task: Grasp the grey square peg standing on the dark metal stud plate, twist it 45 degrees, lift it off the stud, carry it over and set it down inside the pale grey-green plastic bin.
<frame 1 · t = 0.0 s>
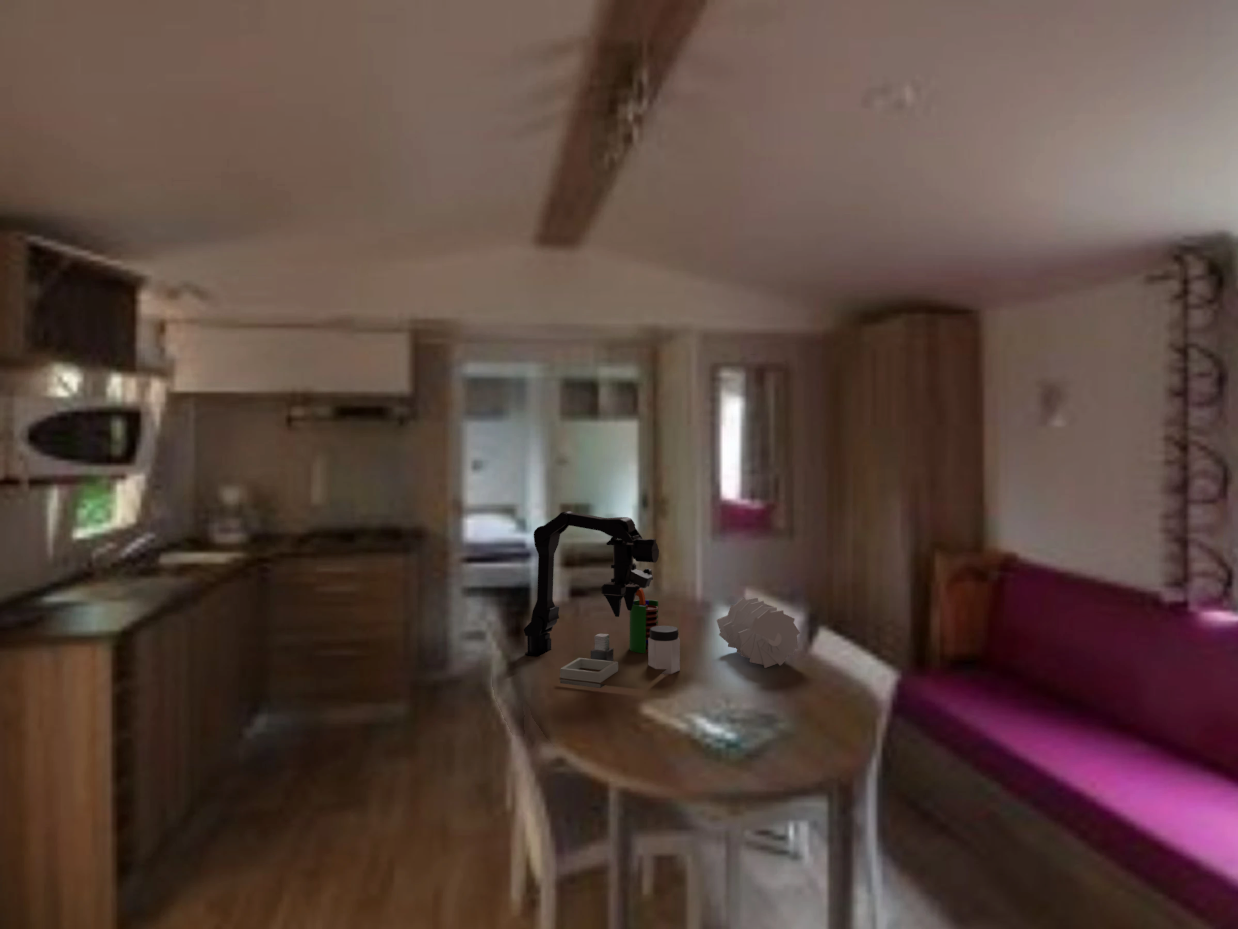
hand: (623, 613, 254), 15 cm above the table, fingers open, 9 cm apart
jar: (664, 671, 247), on the table
bin: (589, 679, 238), on the table
grey square peg: (602, 661, 251), point 1 cm above the table, touching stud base
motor: (643, 654, 265), on the table
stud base: (602, 666, 251), on the table
spiral staircase: (757, 660, 258), on the table
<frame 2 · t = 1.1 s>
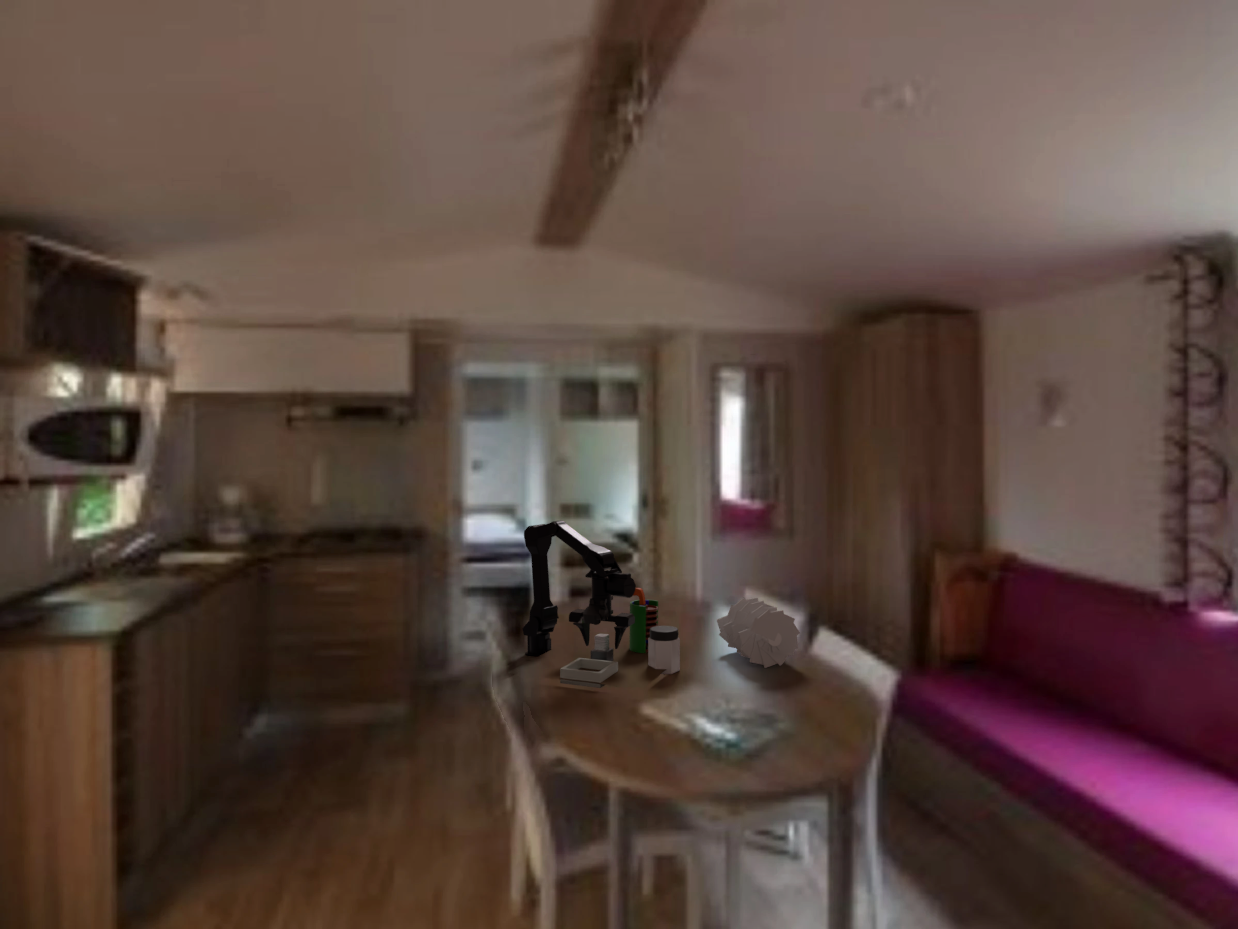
hand: (601, 647, 251), 6 cm above the table, fingers open, 9 cm apart
nothing on the table moved.
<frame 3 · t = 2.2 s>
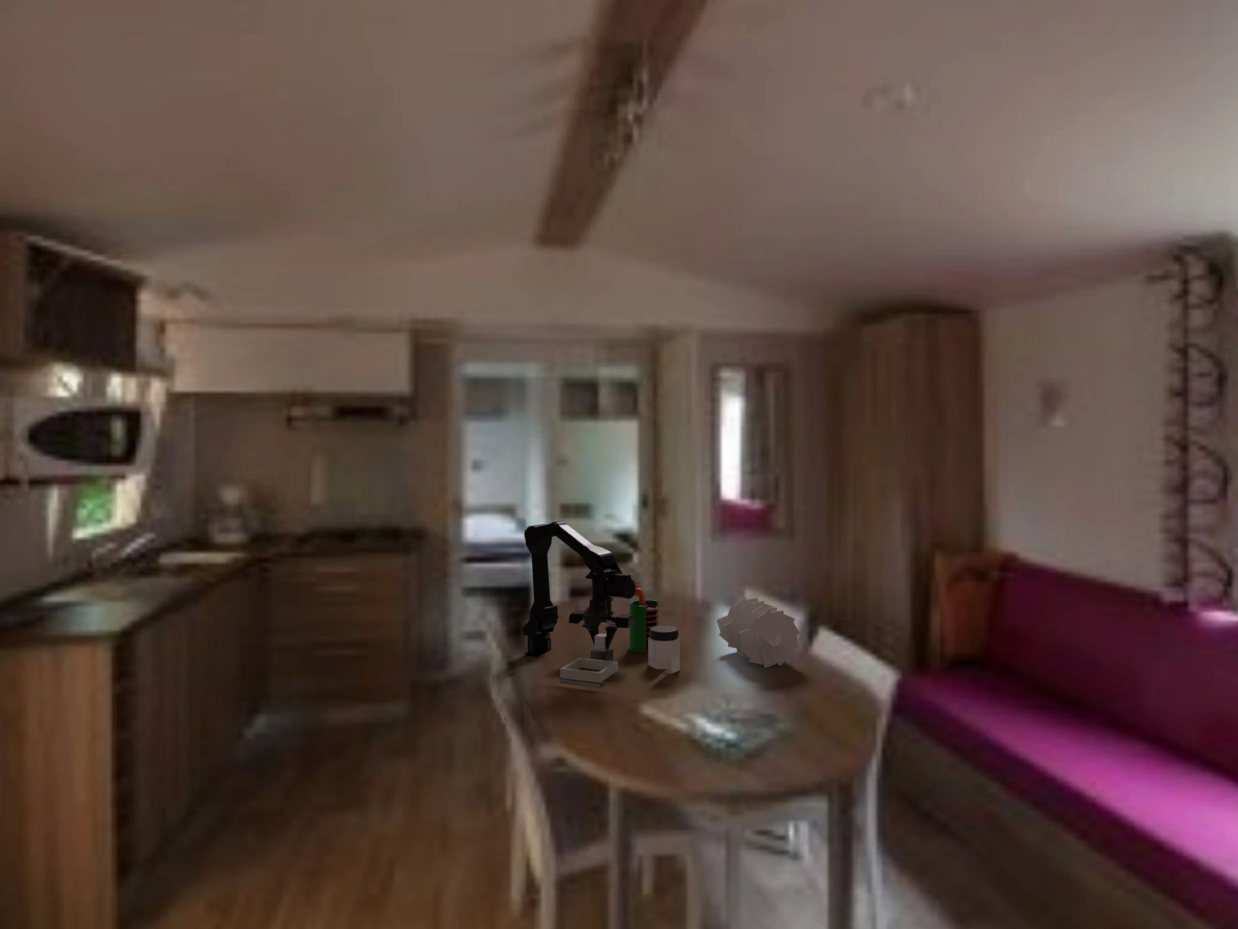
hand: (602, 648, 251), 5 cm above the table, fingers closed on grey square peg, 3 cm apart
grey square peg: (602, 661, 251), point 2 cm above the table, touching gripper, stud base
everything else where it was.
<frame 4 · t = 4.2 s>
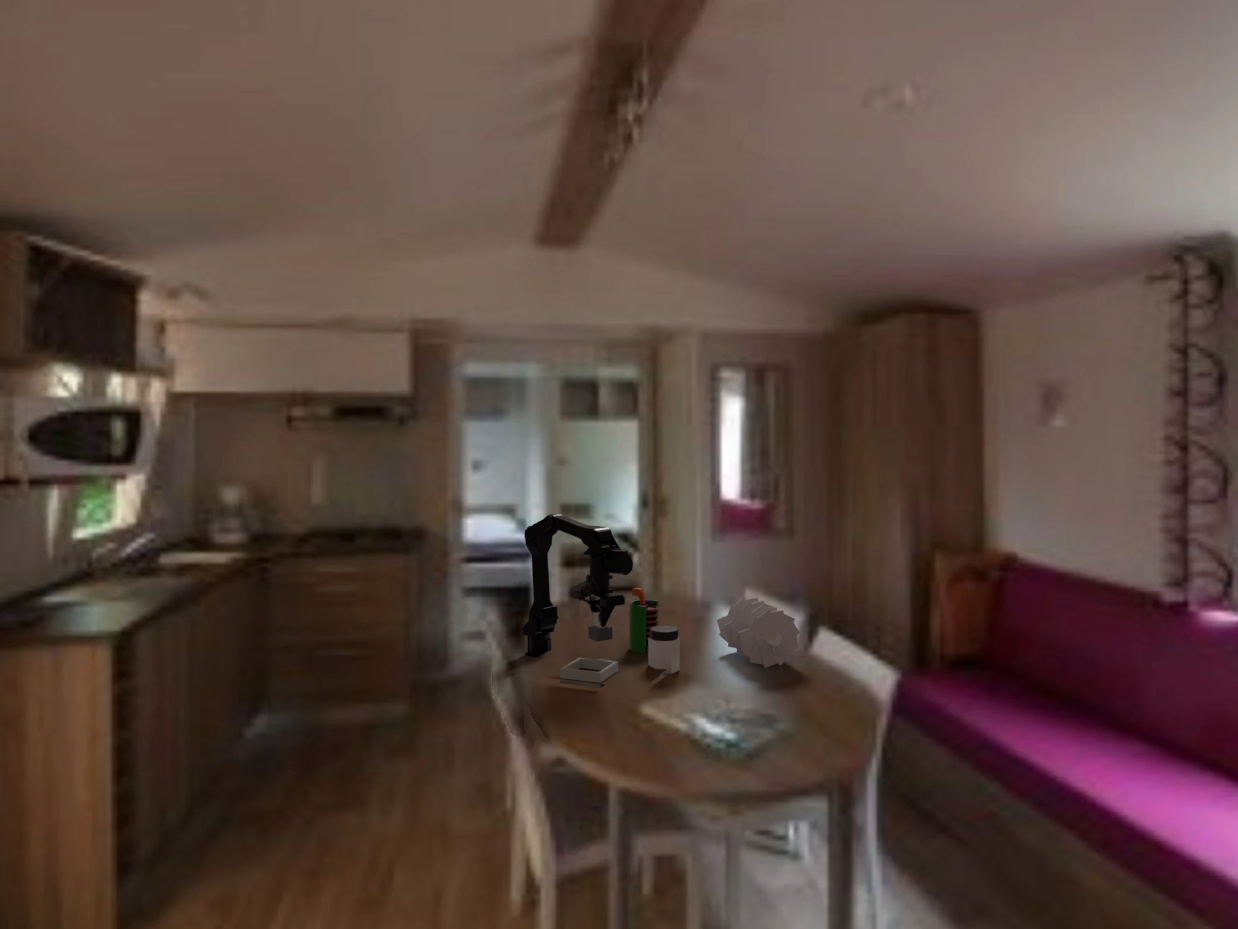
hand: (600, 625, 248), 13 cm above the table, fingers closed on grey square peg, 3 cm apart
grey square peg: (600, 638, 249), point 9 cm above the table, touching gripper
everything else where it was.
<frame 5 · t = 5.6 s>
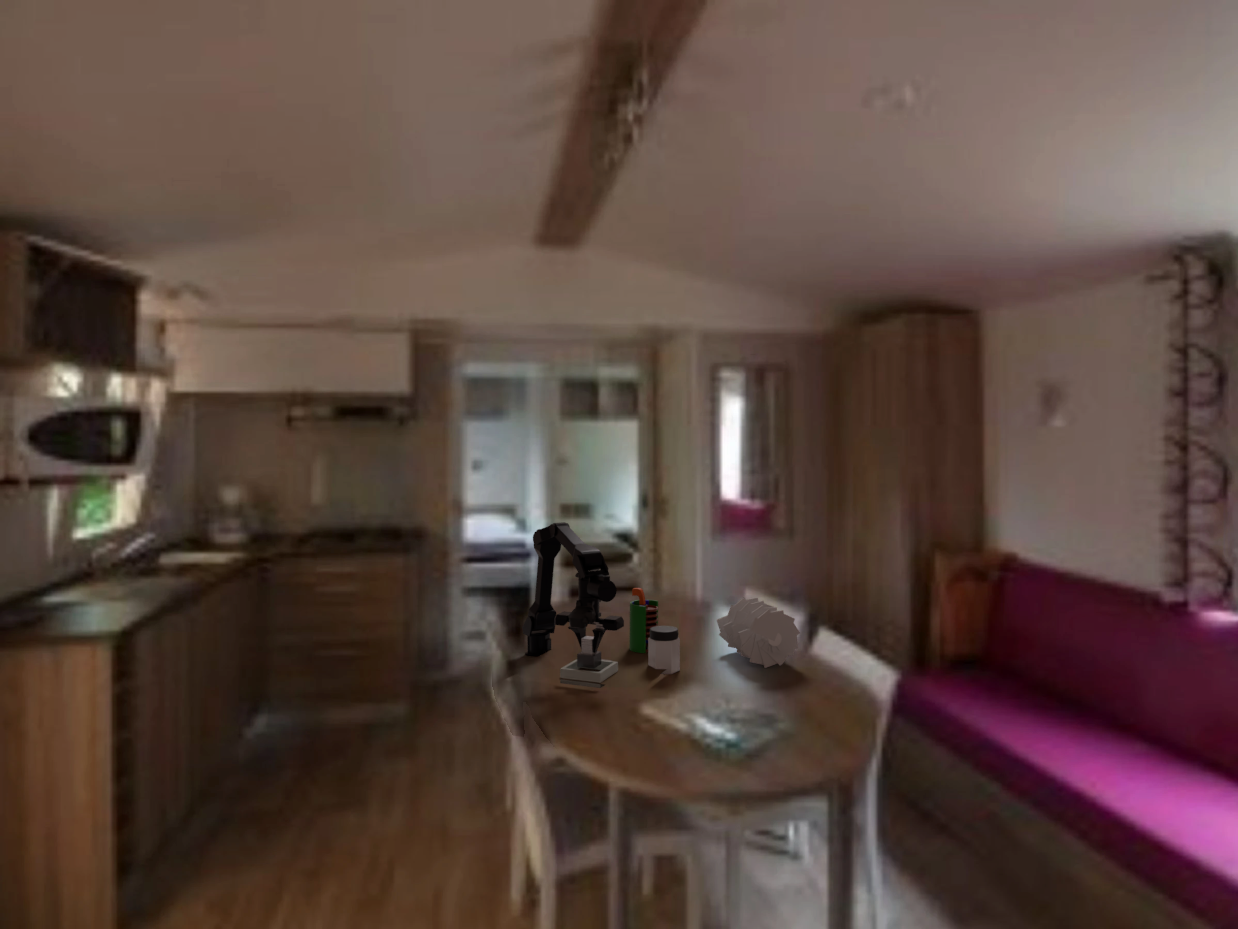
hand: (589, 651, 238), 8 cm above the table, fingers closed on grey square peg, 3 cm apart
grey square peg: (589, 665, 238), point 4 cm above the table, touching gripper
everything else where it was.
when the fingers open (7 cm above the table, at t = 6.4 s): grey square peg drops 2 cm, resting on bin.
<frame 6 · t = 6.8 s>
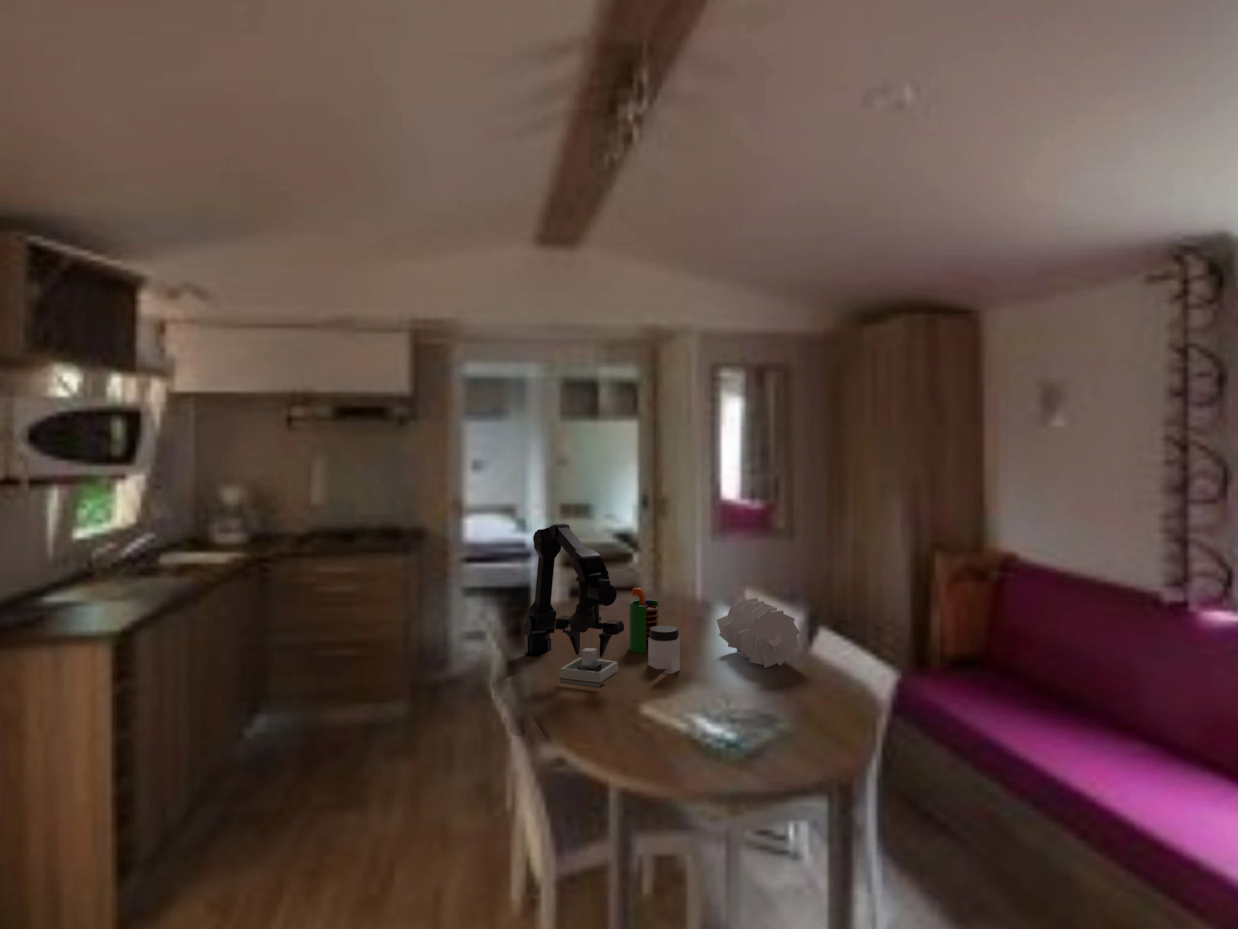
hand: (589, 655, 238), 7 cm above the table, fingers open, 7 cm apart
grey square peg: (589, 677, 238), point 1 cm above the table, touching bin
everything else where it was.
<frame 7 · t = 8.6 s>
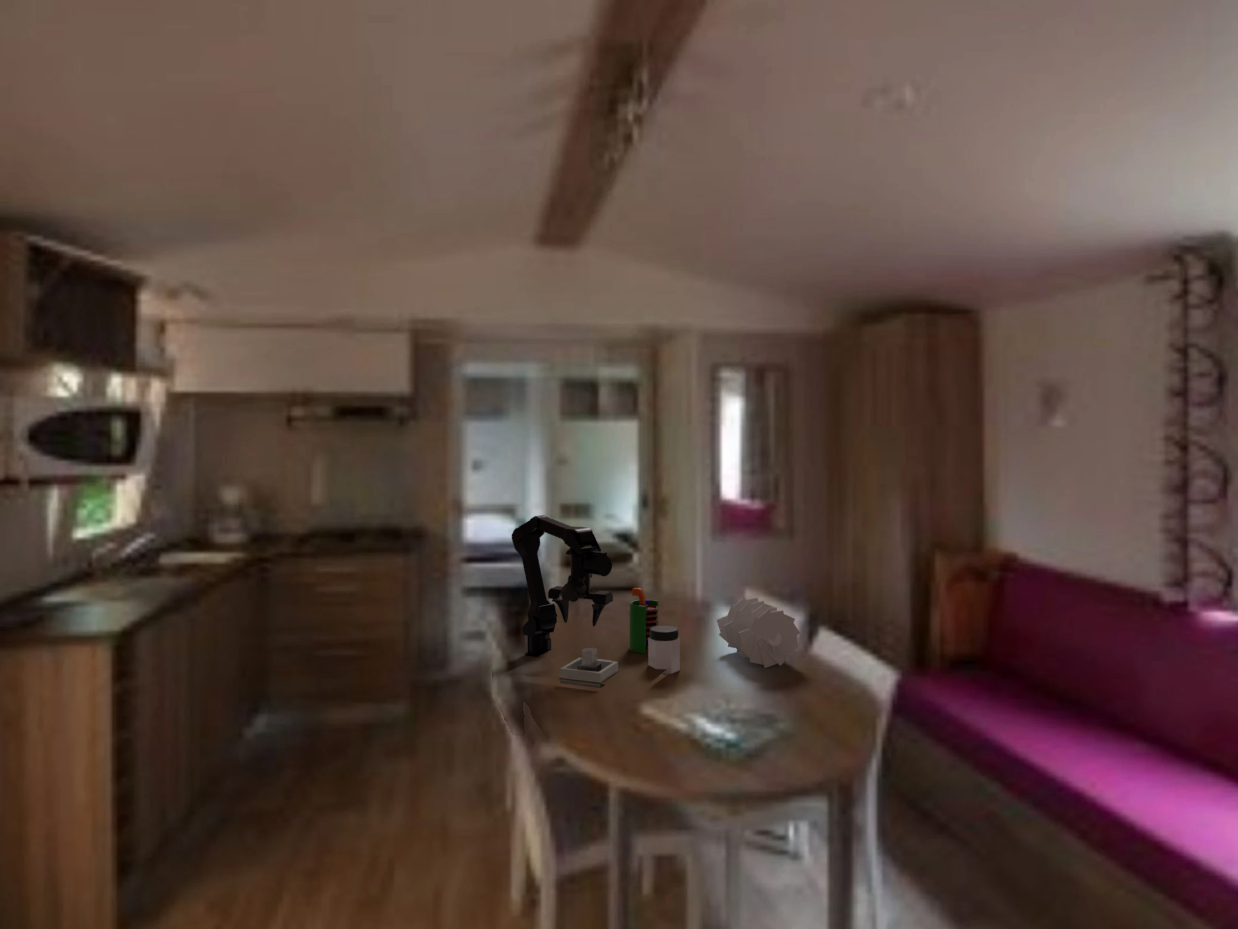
hand: (579, 624, 252), 12 cm above the table, fingers open, 9 cm apart
nothing on the table moved.
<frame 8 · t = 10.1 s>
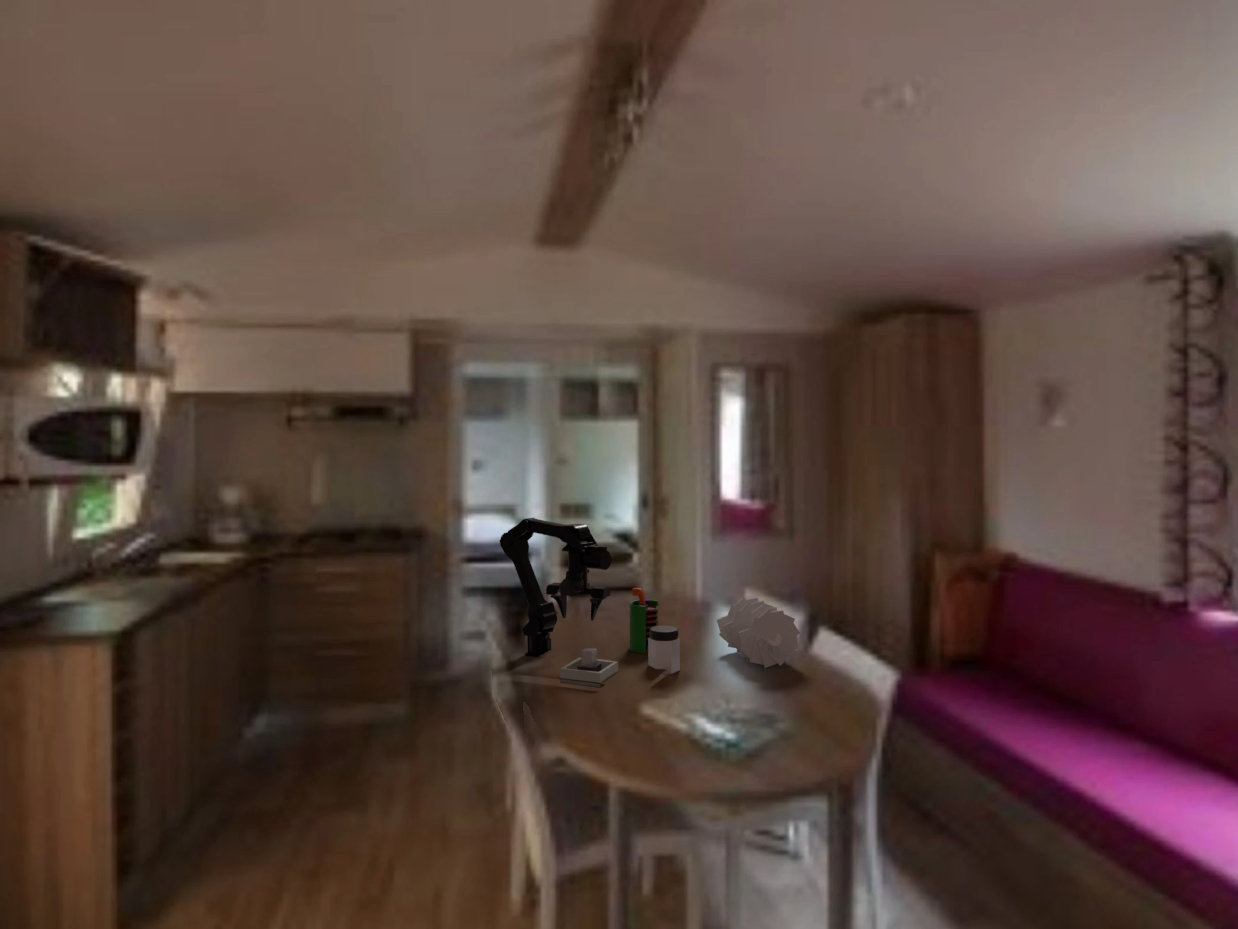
hand: (578, 619, 257), 13 cm above the table, fingers open, 9 cm apart
nothing on the table moved.
at the end: grey square peg inside the target area on the bin (0.1 cm from its centre), point 0.6 cm above the bin's base; the gripper is holding nothing; grey square peg moved 13.1 cm from its start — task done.
